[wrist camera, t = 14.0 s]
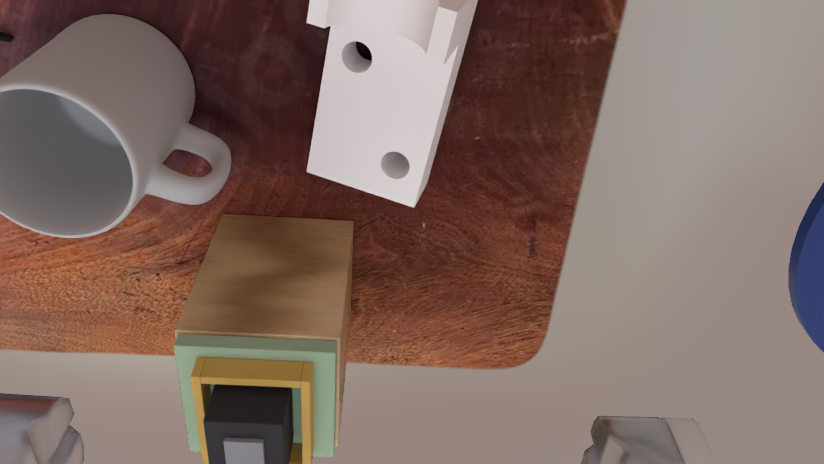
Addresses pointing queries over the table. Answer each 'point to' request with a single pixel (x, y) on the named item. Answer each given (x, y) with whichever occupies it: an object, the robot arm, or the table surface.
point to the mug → (100, 129)
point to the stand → (276, 284)
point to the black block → (249, 425)
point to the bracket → (386, 91)
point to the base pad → (262, 383)
